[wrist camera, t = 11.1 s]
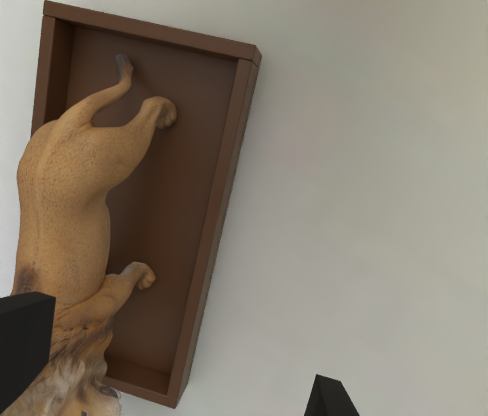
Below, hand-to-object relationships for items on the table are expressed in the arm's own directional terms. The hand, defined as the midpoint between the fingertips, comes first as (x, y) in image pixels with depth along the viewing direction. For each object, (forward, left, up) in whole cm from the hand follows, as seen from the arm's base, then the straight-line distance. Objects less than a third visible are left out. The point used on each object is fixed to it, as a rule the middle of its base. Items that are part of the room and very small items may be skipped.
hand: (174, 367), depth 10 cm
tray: (+1, +6, -9) cm, 11 cm away
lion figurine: (0, +5, -9) cm, 10 cm away
